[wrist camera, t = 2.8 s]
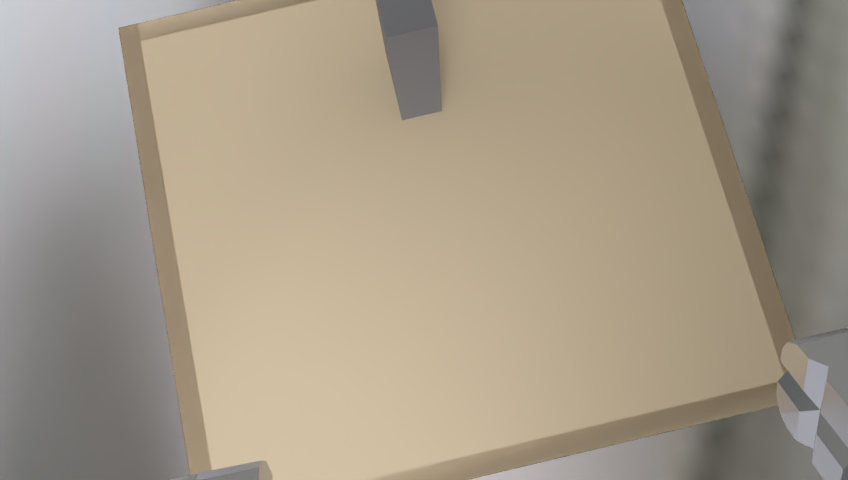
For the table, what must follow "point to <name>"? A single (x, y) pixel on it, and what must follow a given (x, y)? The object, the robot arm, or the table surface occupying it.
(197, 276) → the lid
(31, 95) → the table surface
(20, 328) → the table surface
